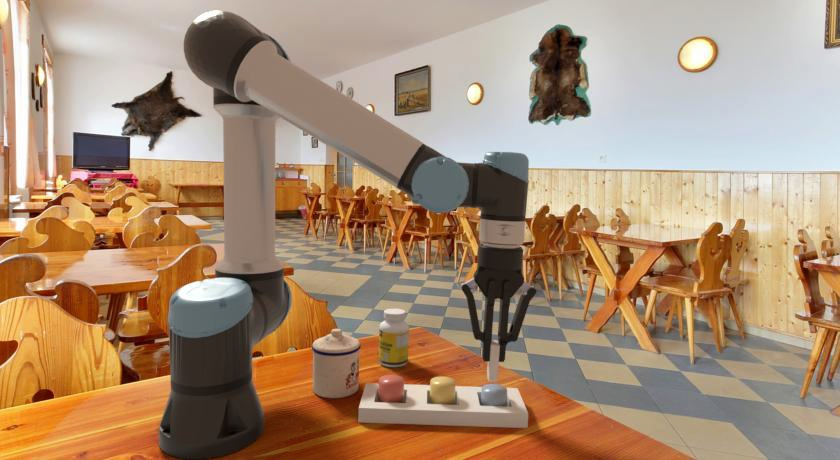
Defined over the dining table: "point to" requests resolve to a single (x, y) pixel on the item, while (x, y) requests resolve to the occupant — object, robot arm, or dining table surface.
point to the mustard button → (442, 390)
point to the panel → (442, 408)
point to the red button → (391, 389)
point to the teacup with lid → (336, 365)
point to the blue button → (493, 395)
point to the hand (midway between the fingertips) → (491, 378)
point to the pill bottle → (393, 339)
